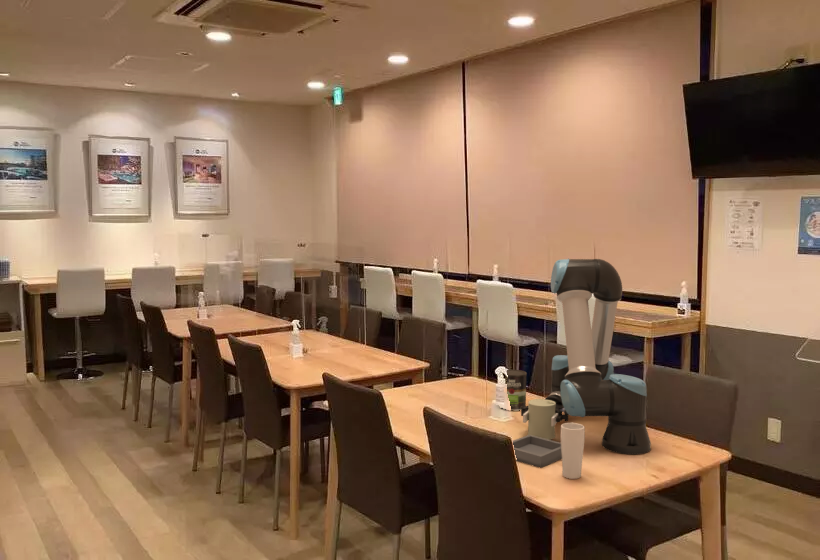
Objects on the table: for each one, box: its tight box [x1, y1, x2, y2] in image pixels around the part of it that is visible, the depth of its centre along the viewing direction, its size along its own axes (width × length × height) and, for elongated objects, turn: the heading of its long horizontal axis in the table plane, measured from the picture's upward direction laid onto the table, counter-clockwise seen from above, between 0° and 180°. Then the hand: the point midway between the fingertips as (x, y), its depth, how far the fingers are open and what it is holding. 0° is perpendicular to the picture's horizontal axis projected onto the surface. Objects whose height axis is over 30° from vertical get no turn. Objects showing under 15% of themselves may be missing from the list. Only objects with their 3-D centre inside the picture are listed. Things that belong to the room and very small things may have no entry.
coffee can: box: [506, 369, 528, 412], centre depth 286 cm, size 10×10×14 cm
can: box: [527, 398, 556, 440], centre depth 247 cm, size 9×9×12 cm
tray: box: [512, 434, 562, 469], centre depth 231 cm, size 15×15×4 cm
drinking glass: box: [560, 422, 586, 480], centre depth 213 cm, size 7×7×15 cm
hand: (538, 420), depth 243 cm, fingers closed on can, 9 cm apart
